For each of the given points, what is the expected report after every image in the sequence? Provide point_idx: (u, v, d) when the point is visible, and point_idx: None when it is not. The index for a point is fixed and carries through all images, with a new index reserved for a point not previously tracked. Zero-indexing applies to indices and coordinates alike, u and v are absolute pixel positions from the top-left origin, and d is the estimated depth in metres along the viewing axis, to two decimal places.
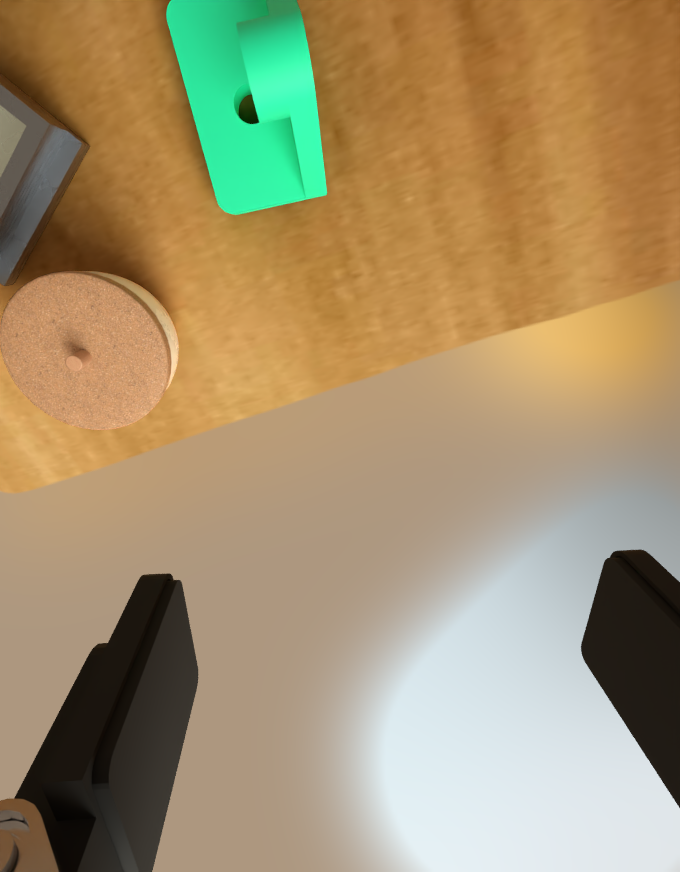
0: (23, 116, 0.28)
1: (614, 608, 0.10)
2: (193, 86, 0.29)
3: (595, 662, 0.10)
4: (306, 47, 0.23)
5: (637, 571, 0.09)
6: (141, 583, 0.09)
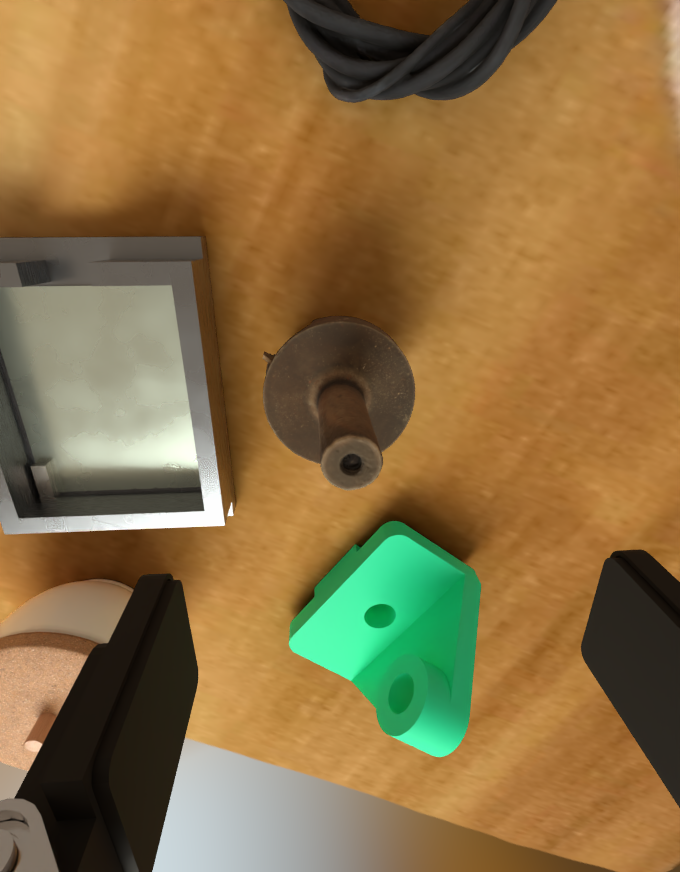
0: (210, 505, 0.25)
1: (614, 608, 0.10)
2: (357, 579, 0.30)
3: (595, 662, 0.10)
4: (451, 751, 0.25)
5: (638, 571, 0.09)
6: (141, 583, 0.09)
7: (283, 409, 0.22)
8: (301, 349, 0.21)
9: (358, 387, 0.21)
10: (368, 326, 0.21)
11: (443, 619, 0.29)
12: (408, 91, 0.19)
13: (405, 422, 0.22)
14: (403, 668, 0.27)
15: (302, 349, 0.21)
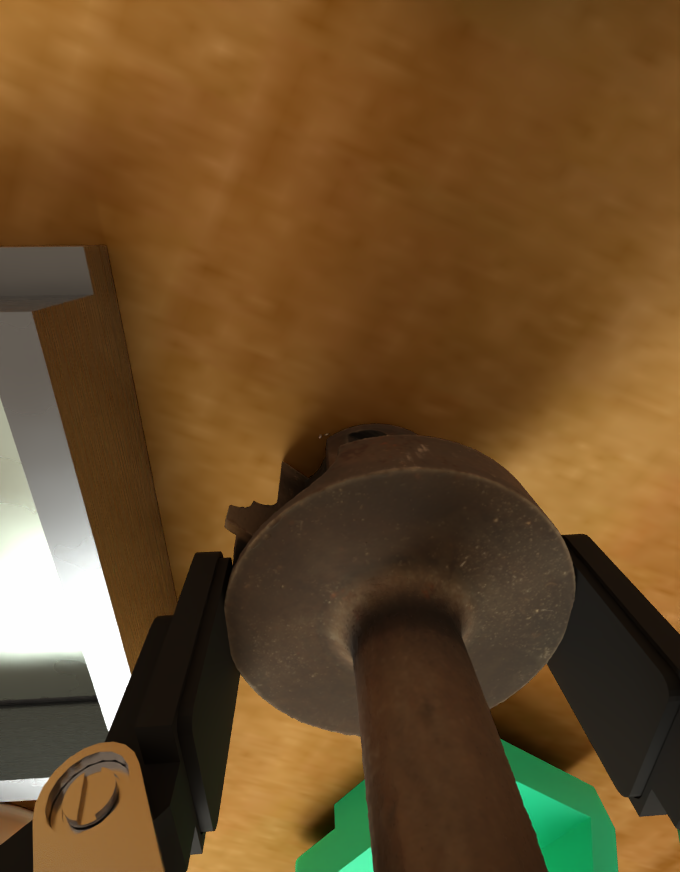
0: None
1: None
2: None
3: None
4: None
5: (578, 554, 0.10)
6: (196, 559, 0.09)
7: (272, 648, 0.09)
8: (314, 530, 0.08)
9: (451, 615, 0.09)
10: (481, 475, 0.08)
11: None
12: None
13: (544, 661, 0.10)
14: None
15: (317, 530, 0.08)
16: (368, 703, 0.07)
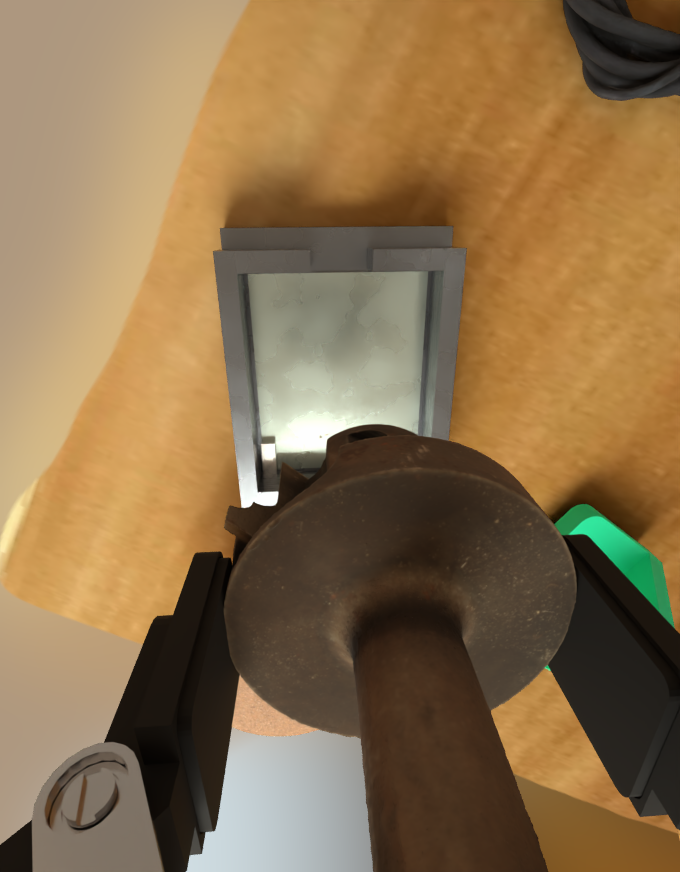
0: None
1: None
2: None
3: None
4: None
5: (577, 554, 0.10)
6: (196, 560, 0.09)
7: (272, 649, 0.09)
8: (314, 531, 0.08)
9: (452, 617, 0.09)
10: (482, 476, 0.08)
11: None
12: None
13: (544, 662, 0.10)
14: None
15: (317, 531, 0.08)
16: (368, 705, 0.07)
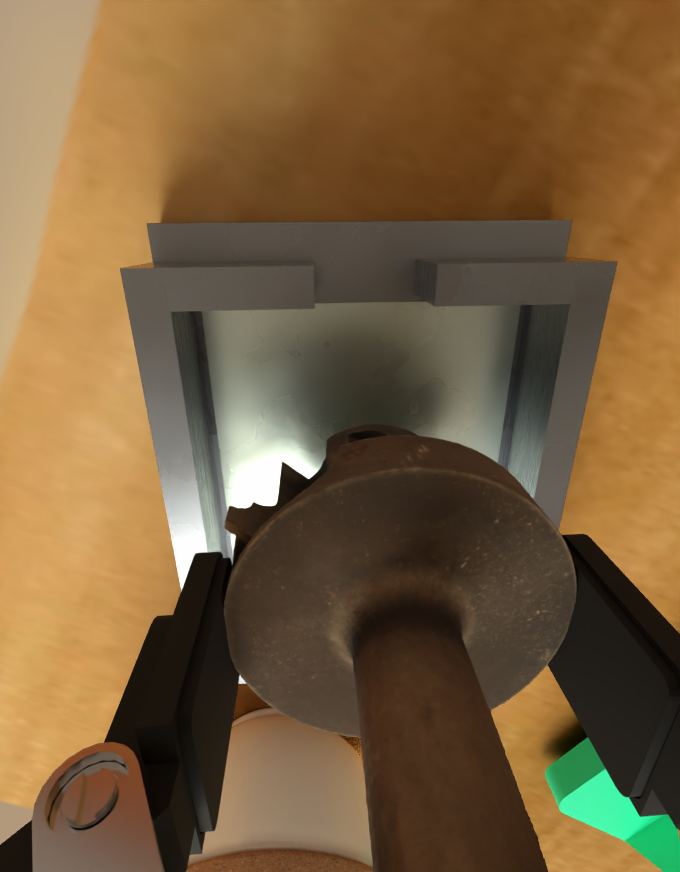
0: None
1: None
2: None
3: None
4: None
5: (578, 554, 0.10)
6: (196, 560, 0.09)
7: (272, 649, 0.09)
8: (315, 531, 0.08)
9: (452, 617, 0.09)
10: (482, 476, 0.08)
11: None
12: None
13: (544, 662, 0.10)
14: None
15: (317, 531, 0.08)
16: (368, 705, 0.07)
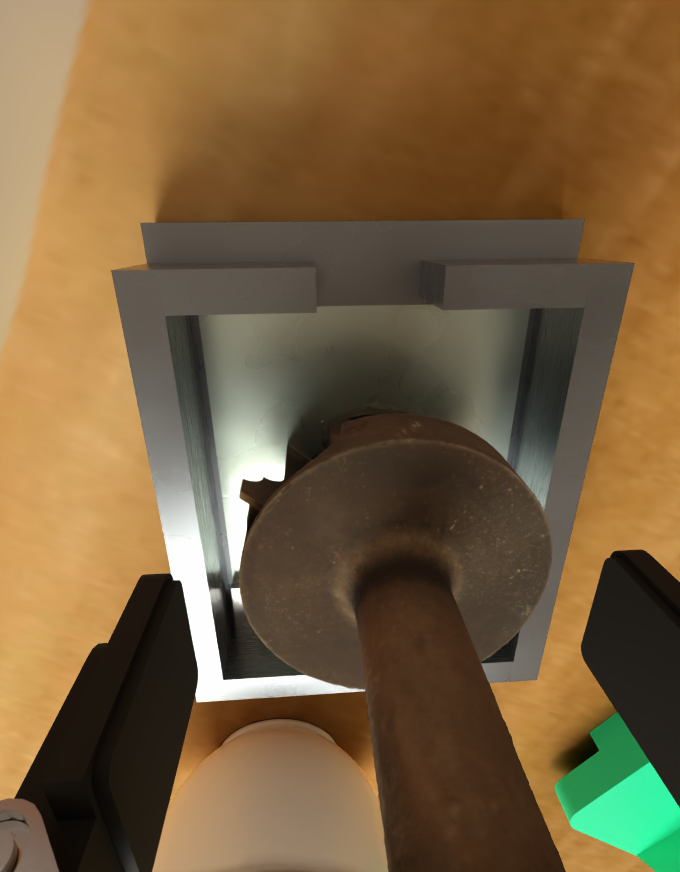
0: (524, 653, 0.16)
1: (614, 608, 0.10)
2: None
3: (595, 662, 0.10)
4: None
5: (637, 571, 0.09)
6: (141, 583, 0.09)
7: (282, 605, 0.11)
8: (321, 496, 0.09)
9: (442, 572, 0.10)
10: (468, 447, 0.09)
11: None
12: None
13: (525, 618, 0.11)
14: None
15: (323, 495, 0.09)
16: (369, 642, 0.08)
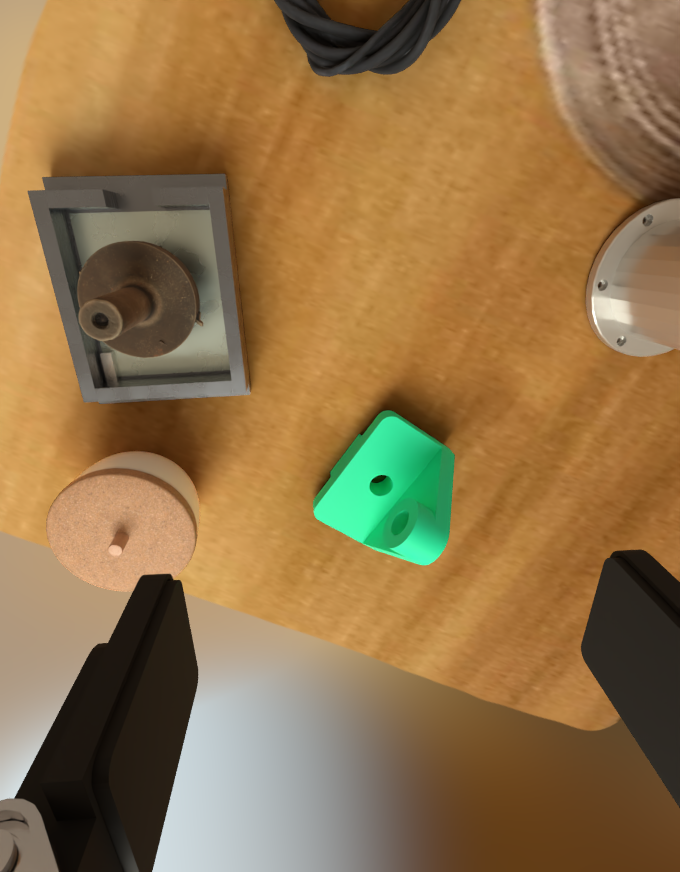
0: (235, 375, 0.35)
1: (614, 608, 0.10)
2: (362, 454, 0.40)
3: (596, 662, 0.10)
4: (438, 556, 0.36)
5: (637, 571, 0.09)
6: (141, 583, 0.09)
7: None
8: (101, 263, 0.28)
9: (146, 291, 0.29)
10: (149, 245, 0.28)
11: (428, 479, 0.40)
12: (365, 68, 0.29)
13: (193, 321, 0.30)
14: (400, 509, 0.38)
15: (101, 263, 0.28)
16: None
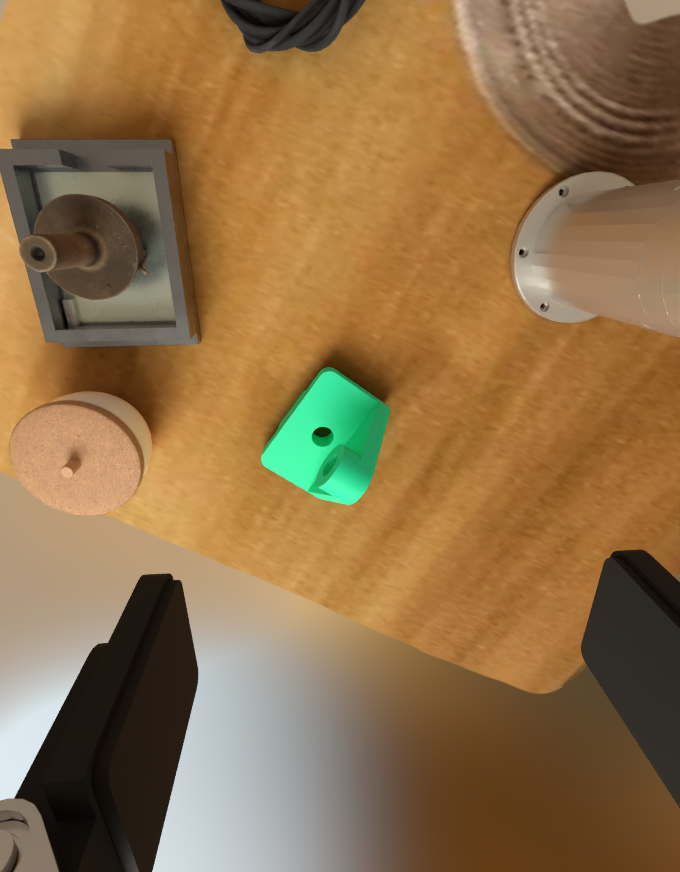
0: (180, 323, 0.39)
1: (614, 608, 0.10)
2: (304, 406, 0.44)
3: (596, 662, 0.10)
4: (361, 495, 0.39)
5: (637, 571, 0.09)
6: (141, 583, 0.09)
7: None
8: (53, 212, 0.32)
9: (92, 238, 0.33)
10: (95, 198, 0.32)
11: (362, 430, 0.44)
12: (290, 45, 0.33)
13: (134, 268, 0.34)
14: (332, 454, 0.42)
15: (54, 212, 0.32)
16: None
